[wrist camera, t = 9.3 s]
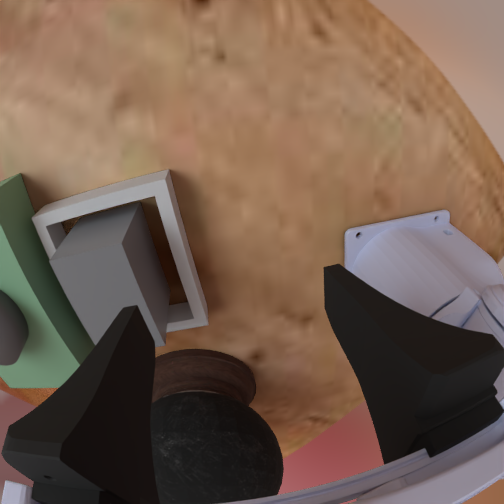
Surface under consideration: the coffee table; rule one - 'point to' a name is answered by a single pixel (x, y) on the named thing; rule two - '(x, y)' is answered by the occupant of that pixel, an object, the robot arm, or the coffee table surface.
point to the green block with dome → (49, 288)
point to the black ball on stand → (210, 431)
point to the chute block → (113, 271)
